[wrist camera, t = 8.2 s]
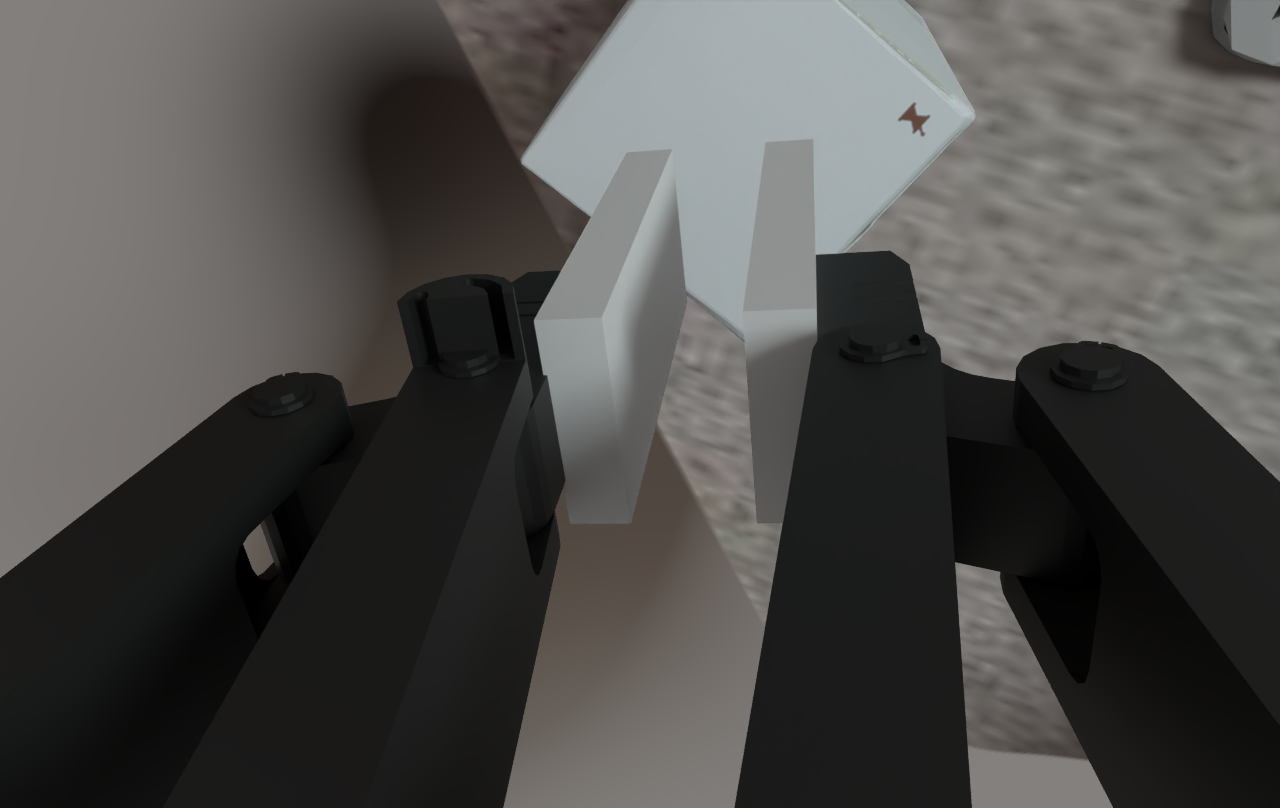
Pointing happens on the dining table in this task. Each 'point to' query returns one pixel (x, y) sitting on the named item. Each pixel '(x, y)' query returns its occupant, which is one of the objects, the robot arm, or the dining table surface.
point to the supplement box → (755, 118)
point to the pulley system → (1248, 28)
